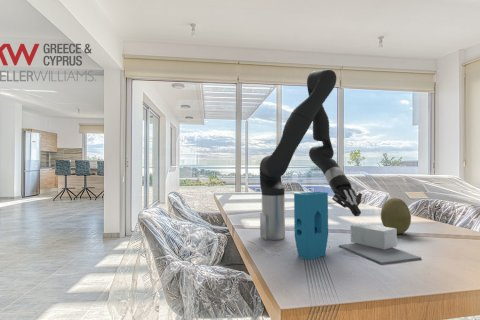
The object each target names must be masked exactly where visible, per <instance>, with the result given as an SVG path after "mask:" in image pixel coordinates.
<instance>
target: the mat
mask: <svg viewBox="0 0 480 320" xmlns="http://www.w3.org/2000/svg"><path fill="white" fill-rule="evenodd" d="M338 247H339V248H342V249H344V250H345V251H349V252H351V253H353V254H356V255H358V256H361V257H362V258H364V259H367V260H370V261H372V262H375V263H376V264H379V265H387V264H389V265H390V264H395V263H404V262H405V263H406V262H413V261H421V260H422V257H421V256H418V255H415V254H413V253H409V252H406V251H403V250H400V249H397V248H395V247H393V248H389V249H386V250H383V249H379V248H375V247H370V246H366V245H362V244H357V243H345V244H339V245H338Z"/></svg>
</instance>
